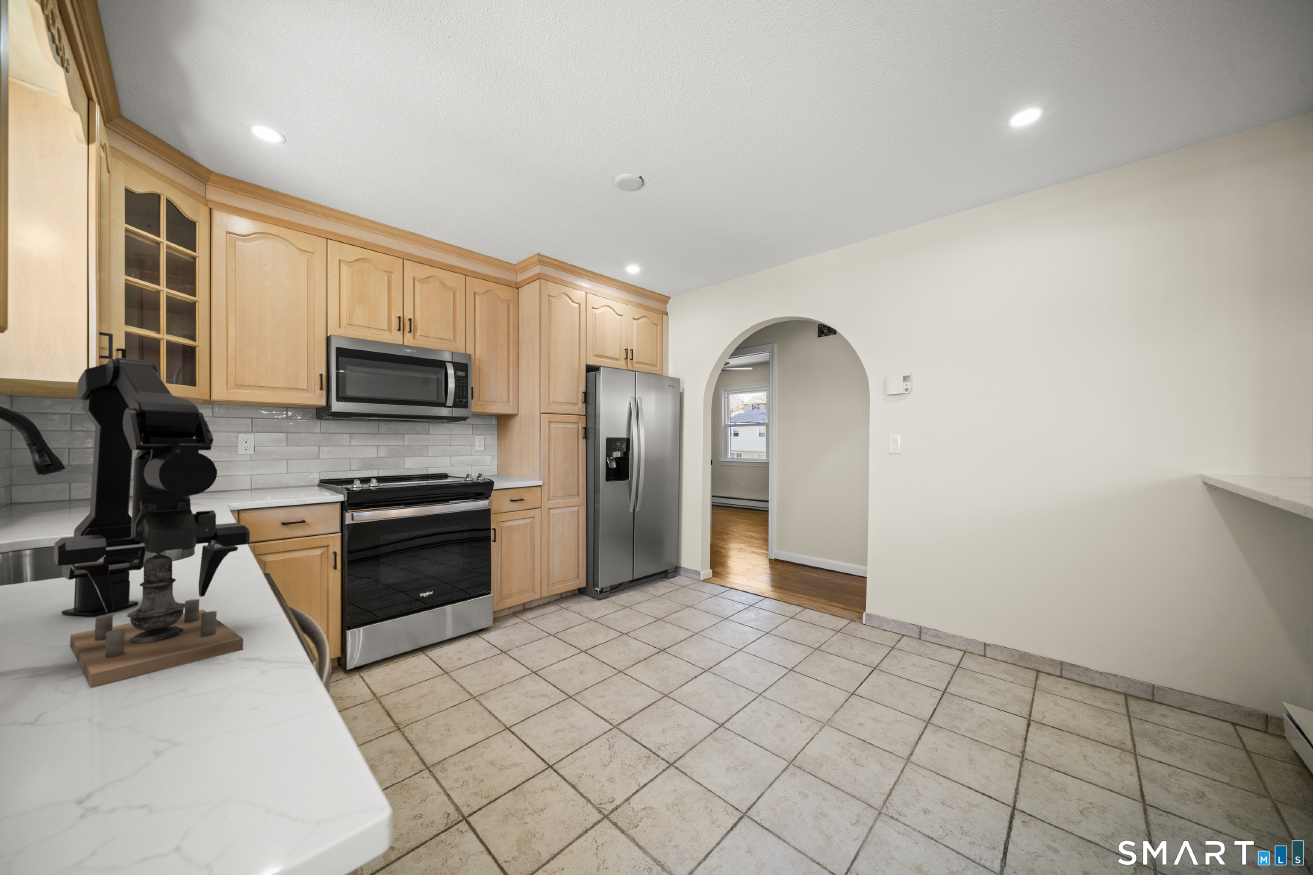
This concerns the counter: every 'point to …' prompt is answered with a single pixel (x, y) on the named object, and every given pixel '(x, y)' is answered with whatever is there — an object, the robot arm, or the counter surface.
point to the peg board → (150, 646)
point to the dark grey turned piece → (157, 603)
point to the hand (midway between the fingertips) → (157, 603)
